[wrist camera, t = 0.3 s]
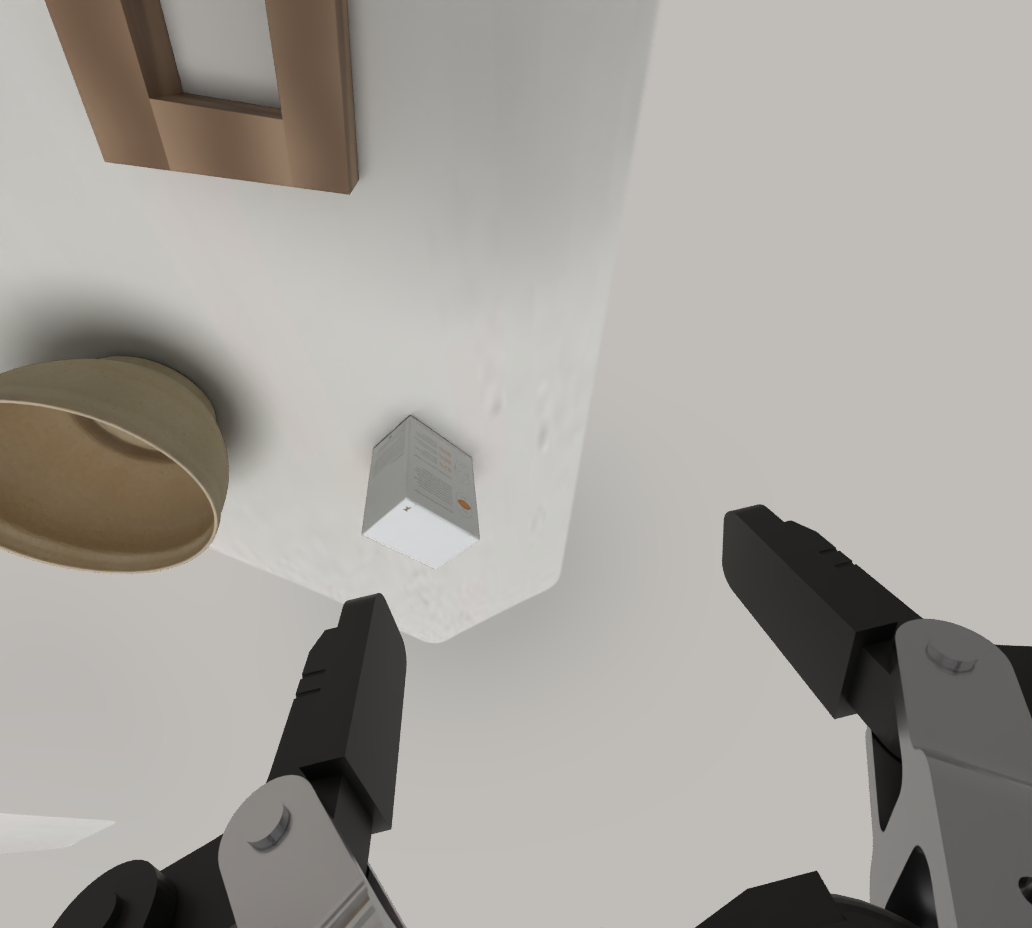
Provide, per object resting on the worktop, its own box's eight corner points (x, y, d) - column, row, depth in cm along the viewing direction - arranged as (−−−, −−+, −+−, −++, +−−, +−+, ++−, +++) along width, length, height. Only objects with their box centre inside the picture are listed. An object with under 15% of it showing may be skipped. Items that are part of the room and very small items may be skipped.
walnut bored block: (141, 149, 26) (104, 161, 23) (28, -202, 19) (-49, -249, 16) (358, 179, 29) (349, 194, 26) (338, -122, 21) (322, -149, 18)
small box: (371, 447, 43) (357, 534, 35) (410, 412, 41) (404, 497, 33) (435, 487, 48) (435, 572, 40) (474, 457, 46) (481, 541, 38)
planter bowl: (-18, 396, 35) (-153, 498, 27) (93, 264, 30) (-31, 342, 22) (190, 502, 45) (137, 601, 37) (301, 416, 40) (266, 508, 32)
